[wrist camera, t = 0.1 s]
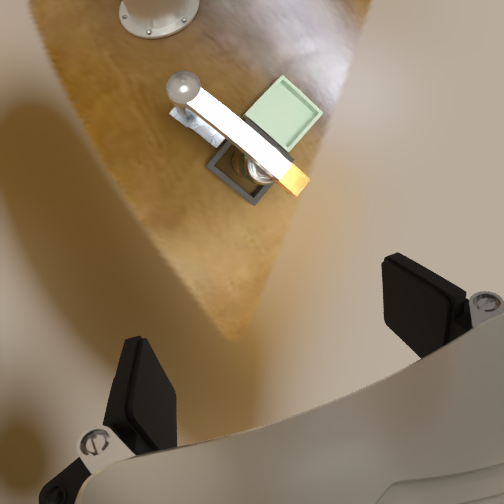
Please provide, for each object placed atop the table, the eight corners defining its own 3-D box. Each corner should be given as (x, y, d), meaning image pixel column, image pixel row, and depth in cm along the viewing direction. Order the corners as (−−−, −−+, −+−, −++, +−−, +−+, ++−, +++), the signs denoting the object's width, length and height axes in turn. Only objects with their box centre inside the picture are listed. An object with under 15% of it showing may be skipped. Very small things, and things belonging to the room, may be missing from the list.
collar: (205, 165, 44) (205, 166, 42) (244, 120, 43) (247, 118, 41) (251, 203, 47) (254, 206, 45) (288, 158, 46) (294, 159, 44)
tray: (242, 116, 43) (244, 114, 40) (277, 78, 42) (282, 74, 39) (283, 152, 46) (288, 152, 43) (317, 114, 45) (323, 113, 42)
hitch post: (169, 114, 41) (159, 97, 27) (185, 96, 40) (182, 71, 27) (214, 149, 44) (224, 147, 30) (230, 131, 43) (247, 122, 30)
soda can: (270, 157, 45) (296, 158, 34) (252, 184, 46) (272, 194, 35) (243, 138, 44) (260, 134, 33) (224, 166, 45) (235, 171, 33)
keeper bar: (162, 96, 27) (158, 89, 24) (182, 73, 27) (182, 64, 24) (284, 195, 33) (293, 200, 30) (302, 173, 32) (314, 176, 29)
